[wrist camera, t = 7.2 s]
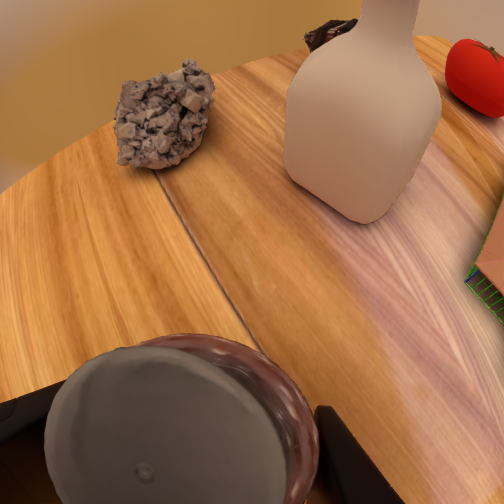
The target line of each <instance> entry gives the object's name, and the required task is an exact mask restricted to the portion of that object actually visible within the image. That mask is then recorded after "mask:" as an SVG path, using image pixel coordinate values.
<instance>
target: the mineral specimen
mask: <svg viewBox="0 0 504 504" xmlns="http://www.w3.org/2000/svg"><path fill="white" fill-rule="evenodd" d="M214 90H215V87H214V82H213V81H212V79H211V77H210V75H209V73H205V72H204V71H203V70H201V69H200V68H199V66H198V65H197V64H196V61H194V60H192V59H190V58H188V59H186V60H185V61H184V62H183V68H180V69H179V70H176V71H174V72H172V73H171V74H169V75H167V74H165V73H162V72H160V73H159V75H158V76H157V77H151V78H150V80H147V81H142V82H140V83H138V82H136V81H133V80H132V81H126V82H124V83H123V85H122V92H121V94H120V102H118V105H117V107H116V110H115V116H116V117H115V118H114V120H117V121H116V122H114V124H115V126H114V127H113V128H114V133H115V135H116V137H117V145H118V147H119V150H120V152H119V153H118V160H117V161H116V163H118V164H120V165H121V166H126V165H129V164H132V165H133V166H134V167H135V168H136V167H148V168H151V169H162V168H164V167H170V166H171V165H172V164H174V165H177V164H179V163H180V160H181V159H182V158H186V157H189V154H190V153H192V152H193V151H194V150H195V149H196V148H197V147H198V146H199V145H200V144H201V139H202V136H203V131H204V130H205V128H207V127H206V125H205V124H206V123H207V122H208V115H209V113H210V111H211V110H210V109H211V108H212V106H213V103H214V98H213V96H212V94H213V91H214Z"/></svg>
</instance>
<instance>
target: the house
mask: <svg viewBox="0 0 504 504" xmlns="http://www.w3.org/2000/svg"><path fill="white" fill-rule="evenodd" d="M474 266H476V267H474ZM473 267H474V268H473ZM474 269H475V270H474ZM473 270H474V271H473ZM472 271H473V272H472ZM475 271H476V272H475ZM480 271H481V272H482V273H483V274H484V275H485V276H486V278H488V279H489V280H490V281H491V282H492V284H491V285H490V286H492V285H494V286H495V287H496V288H497V289H498V291H500V292H501V294H502V295H503V296H504V194H503V197H502V199H501V202H500V205H499V207H498V210H497V213H496V215H495V218H494V220H493V222H492V225H491V227H490V230H489V232H488V234H487V236H486V239H485V241H484V243H483V245H482V247H481V250H480V252H479V254H478V256H477V258H476V260H475V262H474V264H473V266H472V268H471V270H470V272H469V274H468V276H467V278H466V279H465V281H464V283H465V284H466V285H467V286H468V287H469V288H470V289H471V290H472V291H473V292H474V293H475V294H476V295H477V296H478V297H479V298H480V299H481V300H482V301H483V302H484V301H485V300H487V299H488V298H490V297H491V296H493V295H494V294H495V295H496V293H497V292H498V291H496V292H494V291H493V290H492V289H491V288H490V286H488V285H487V284H486V283H485V282H484V281H483V280H485V279H486V278H484V279H482V278H481V277H480V276H479V275H478V273H479V272H480ZM471 272H472V273H471ZM474 272H475V273H474ZM473 273H474V274H473ZM470 275H471V276H470ZM475 275H477V276H478V277H479V278H480V279H481V280H482V281H483V282H484V284H485V285H486V286H487V288H486V289H488V288H490V289H491V290H492V292H493V293H494V294H492V295H491V296H489V297H488V298H486V299H485V300H483V299H482V298H481V297H480V296H479V294H481V293H482V292H483V291H485V290H486V289H484V290H483V291H482V292H480V293H479V294H477V293H476V292H475V291H474V290H473V288H474V287H476V286H477V285H478V284H480V283H481V282H482V281H480V282H479V283H478V284H477V285H475V286H474V287H473V288H471V287H470V286H469V285H468V284H467V283H466V282H468V281H469V280H470V279H471V278H473V277H474V276H475ZM469 276H470V277H469ZM468 277H469V278H468ZM496 297H497V298H498V299H499V300H498V301H497V302H499V301H501V302H502V303H503V304H504V302H503V301H502V299H503V298H504V297H503V298H501V299H500V298H499V297H498V296H497V295H496ZM497 302H495V303H494V304H496V303H497ZM484 304H485V305H486V306H487V307H488V308H489V309H490V310H491V311H492V312H493V314H494V315H495V316H496V317H497V318H498V319H499V320H500V322H501V323H502V324H503V325H504V323H503V322H502V321H501V318H503V317H504V316H503V317H501V318H499V317H498V316H497V315H496V314H495V313H496V312H498V311H500V310H501V309H503V308H504V307H502V308H501V309H499V310H497V311H496V312H494V311H493V310H492V309H491V308H490V307H491V306H492V305H494V304H492V305H490V306H488V305H487V304H486V303H485V302H484Z"/></svg>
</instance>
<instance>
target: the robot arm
mask: <svg viewBox="0 0 504 504" xmlns="http://www.w3.org/2000/svg"><path fill="white" fill-rule="evenodd" d="M66 380H67V379H66ZM66 380H63V381H61V382H58V383H55V384H53V385H50V386H47V387H45V388H42V389H39V390H37V391H34V392H31V393H28V394H26V395H23V396H20V397H18V399H17V398H14V399H12V400H9V401H6V402H3V403H0V504H63V503H62V501H61V499H60V498H59V496H58V494H57V492H56V490H55V487H54V484H53V481H52V479H51V477H50V475H49V473H48V468H47V464H46V456H45V450H44V442H45V438H44V433H45V428H46V422H47V417H48V413H49V411H50V409H51V406H52V403H53V400H54V398H55V395H56V394H57V392H58V391H59V389H60V388H61V387H62V386H63V384H64V383H65V381H66ZM313 417H314V420H315V423H316V426H317V429H318V432H319V434H318V437H319V439H318V440H319V448H320V449H319V466H318V469H317V475H316V478H315V481H314V484H313V486H312V488H311V491H310V492H309V494H308V496H307V504H405V503H404V501H403V500H402V499H401V498H400V497H399V495H398V494H397V493H396V492H395V490H394V489H393V488H392V487H390V484H389V483H388V481H387V480H386V479H385V477H384V476H383V475H382V473H381V472H380V471H379V470H378V468H377V467H376V466H375V464H374V463H373V462H372V460H371V459H370V458H369V456H368V455H367V454H366V452H365V451H364V450H363V448H362V447H361V446H360V444H359V443H358V442H357V440H356V439H355V437H354V436H353V435H352V433H351V432H350V431H349V429H348V428H347V427H346V425H345V424H344V423H343V421H342V420H341V418H340V417H339V416H338V414H337V413H336V412H335V410H334V409H333V408H332V407H331V406H323V405H319V406H317V407H316V410H315V413H314V416H313Z"/></svg>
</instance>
